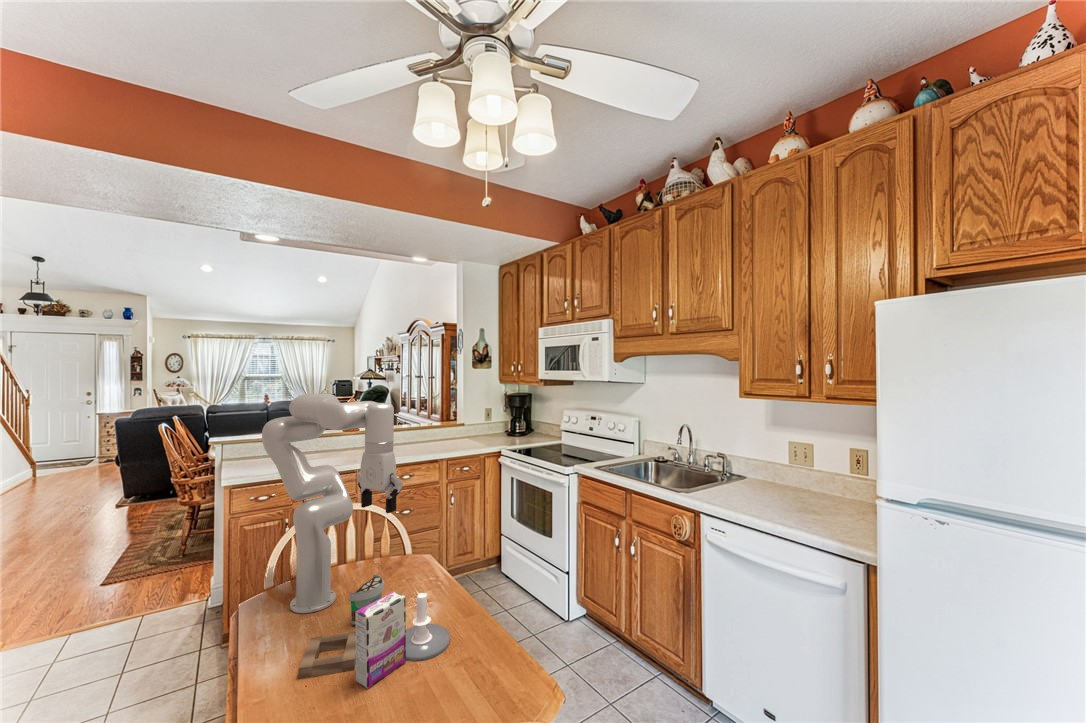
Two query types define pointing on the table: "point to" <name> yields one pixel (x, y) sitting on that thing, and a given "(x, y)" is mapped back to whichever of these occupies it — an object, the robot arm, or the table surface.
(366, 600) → the food container
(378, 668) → the candy bar box
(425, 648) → the slate plate
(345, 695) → the table surface
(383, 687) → the table surface
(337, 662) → the walnut socket
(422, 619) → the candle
